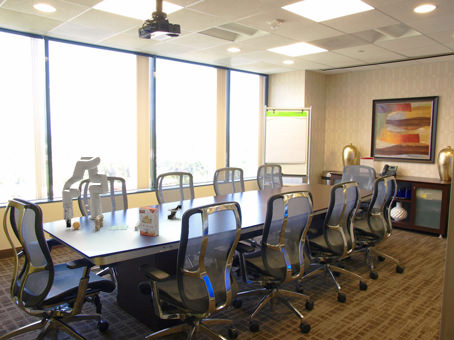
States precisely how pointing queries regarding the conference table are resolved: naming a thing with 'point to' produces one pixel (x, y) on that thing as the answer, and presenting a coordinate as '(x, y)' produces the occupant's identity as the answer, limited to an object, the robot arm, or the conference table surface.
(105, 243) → the conference table surface
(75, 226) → the ball
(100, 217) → the bridge
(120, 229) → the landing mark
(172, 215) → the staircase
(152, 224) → the cracker box
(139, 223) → the stopper
